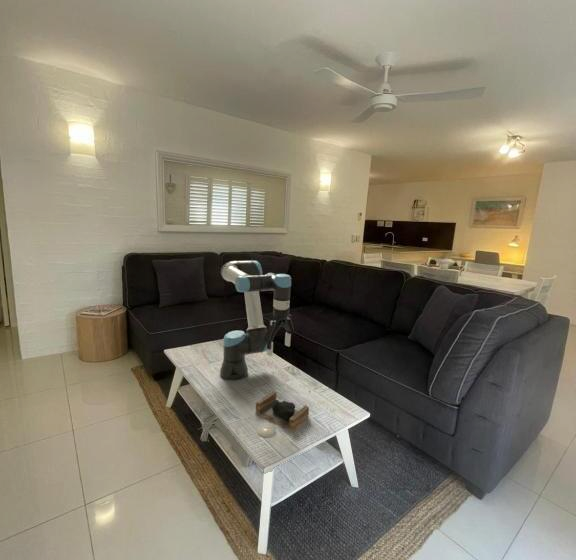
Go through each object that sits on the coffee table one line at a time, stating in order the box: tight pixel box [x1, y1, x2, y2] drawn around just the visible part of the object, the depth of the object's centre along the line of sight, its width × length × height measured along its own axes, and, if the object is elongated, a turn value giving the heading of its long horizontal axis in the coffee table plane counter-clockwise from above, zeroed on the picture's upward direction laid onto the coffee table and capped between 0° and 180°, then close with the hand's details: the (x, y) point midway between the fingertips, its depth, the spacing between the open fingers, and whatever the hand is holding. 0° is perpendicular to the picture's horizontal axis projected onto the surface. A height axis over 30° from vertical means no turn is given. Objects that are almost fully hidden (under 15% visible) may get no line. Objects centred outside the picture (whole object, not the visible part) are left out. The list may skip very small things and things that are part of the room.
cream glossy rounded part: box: [256, 422, 277, 438], centre depth 126 cm, size 8×8×1 cm
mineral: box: [272, 399, 296, 421], centre depth 133 cm, size 10×9×6 cm
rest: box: [255, 390, 310, 433], centre depth 136 cm, size 20×12×5 cm, turn 54°
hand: (278, 350), depth 147 cm, fingers open, 13 cm apart
